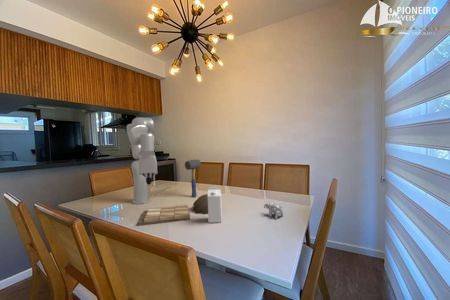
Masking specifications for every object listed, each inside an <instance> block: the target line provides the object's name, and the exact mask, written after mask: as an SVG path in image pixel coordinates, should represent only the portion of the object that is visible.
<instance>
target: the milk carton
mask: <svg viewBox="0 0 450 300" xmlns="http://www.w3.org/2000/svg"><path fill="white" fill-rule="evenodd" d="M207 194H208V214H207V215H208V216H207V217H208V221H207V222H208V224H209V223H211V224H213V223H222V220H223V216H222V215H223V210H222V209H223V208H222V205H223V204H222V189H221V187H220V186H216V187H211V186H210V187H208V188H207Z"/></svg>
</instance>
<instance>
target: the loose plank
mask: <svg viewBox="0 0 450 300" xmlns="http://www.w3.org/2000/svg"><path fill="white" fill-rule="evenodd" d="M161 210H162V206H161V207H160V206H159V207H149V208H148V212H147V215H146V216H149V215H158V214H161Z"/></svg>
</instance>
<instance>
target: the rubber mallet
mask: <svg viewBox="0 0 450 300" xmlns="http://www.w3.org/2000/svg"><path fill="white" fill-rule="evenodd" d="M201 166H202V163H201V160H199V159H190V160H186V161H185V162H184V168H185V169H186V170H189V171H190V170H191V197H192V198H196V197H197V196H198V194H197V180H196V170H195V169H199V168H201Z"/></svg>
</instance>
